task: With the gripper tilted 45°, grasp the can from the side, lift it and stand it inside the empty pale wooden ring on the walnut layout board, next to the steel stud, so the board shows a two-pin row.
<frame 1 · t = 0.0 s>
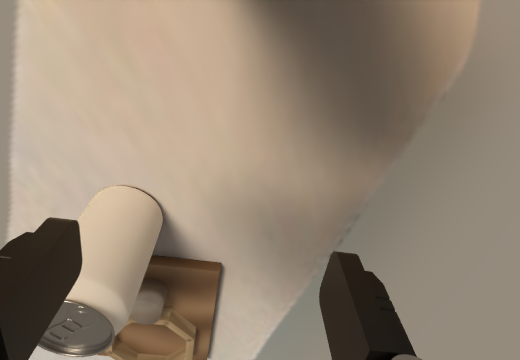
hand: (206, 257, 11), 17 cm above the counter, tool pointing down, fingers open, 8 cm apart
can: (128, 211, 32), on the counter
layout board: (155, 307, 38), on the counter
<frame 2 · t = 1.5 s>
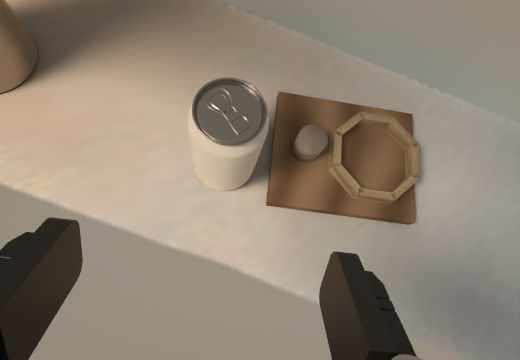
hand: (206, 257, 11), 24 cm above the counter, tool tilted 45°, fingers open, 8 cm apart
can: (223, 163, 37), on the counter
layout board: (341, 159, 39), on the counter
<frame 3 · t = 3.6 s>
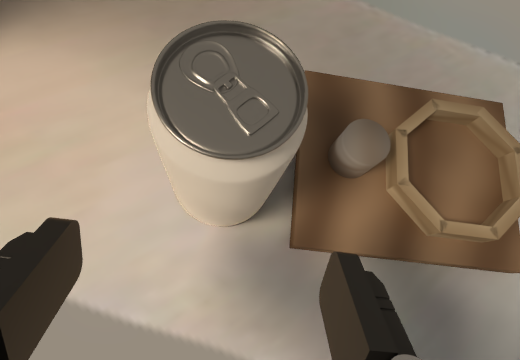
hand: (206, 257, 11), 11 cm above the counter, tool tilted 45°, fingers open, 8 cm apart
can: (222, 181, 24), on the counter
layout board: (401, 171, 26), on the counter
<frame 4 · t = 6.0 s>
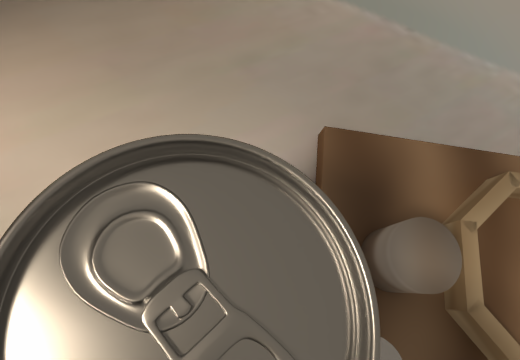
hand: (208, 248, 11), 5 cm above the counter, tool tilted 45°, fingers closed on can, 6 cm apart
can: (204, 295, 16), on the counter, touching gripper
layout board: (460, 270, 18), on the counter
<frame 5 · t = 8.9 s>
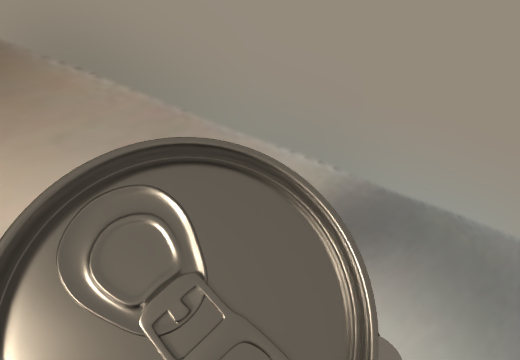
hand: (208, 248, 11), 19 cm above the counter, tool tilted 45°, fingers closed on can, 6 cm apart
can: (203, 296, 16), point 13 cm above the counter, touching gripper
when the fingers open (7 cm above the counter, at t = 12.3 s): can stays where it is, resting on layout board.
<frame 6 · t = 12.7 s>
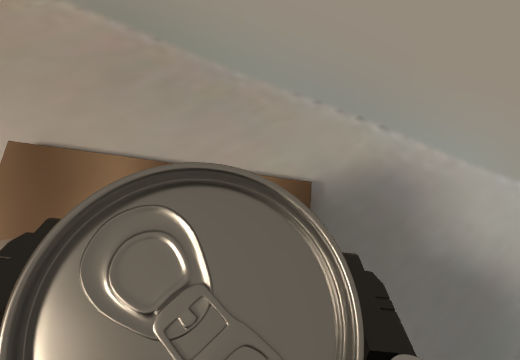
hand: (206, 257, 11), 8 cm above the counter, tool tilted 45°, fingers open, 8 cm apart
can: (205, 300, 17), point 1 cm above the counter, touching layout board
layout board: (146, 288, 18), on the counter
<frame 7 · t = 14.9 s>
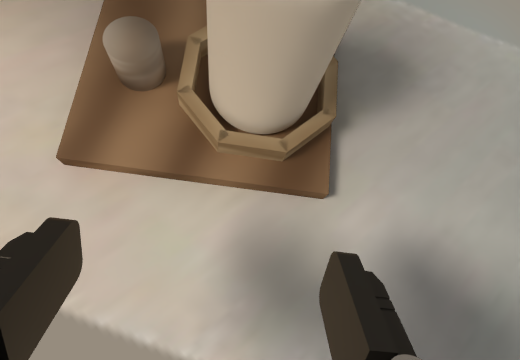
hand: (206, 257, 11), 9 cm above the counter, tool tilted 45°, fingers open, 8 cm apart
can: (258, 93, 23), point 1 cm above the counter, touching layout board
layout board: (212, 91, 23), on the counter
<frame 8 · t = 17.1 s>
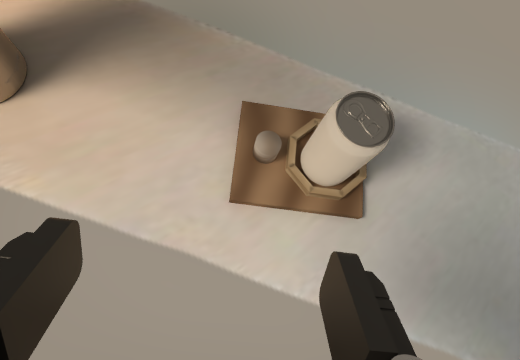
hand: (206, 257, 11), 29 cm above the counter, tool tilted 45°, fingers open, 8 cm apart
can: (324, 163, 43), point 1 cm above the counter, touching layout board
layout board: (298, 160, 44), on the counter
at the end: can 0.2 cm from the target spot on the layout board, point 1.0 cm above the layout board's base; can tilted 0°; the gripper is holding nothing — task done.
